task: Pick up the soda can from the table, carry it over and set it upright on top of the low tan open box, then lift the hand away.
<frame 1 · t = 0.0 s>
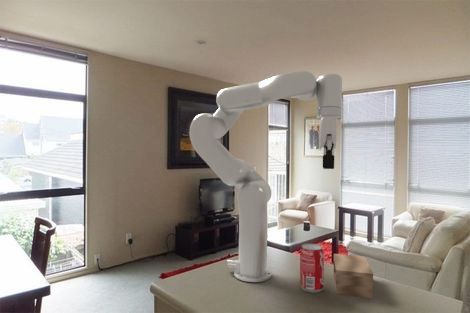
hand: (328, 168, 98), 37 cm above the table, tool pointing down, fingers open, 9 cm apart
soda can: (311, 289, 95), on the table
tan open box: (351, 285, 98), on the table
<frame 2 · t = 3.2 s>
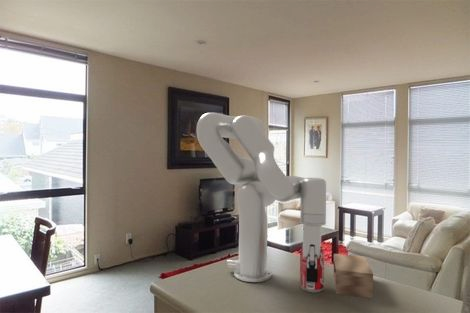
hand: (312, 276, 94), 4 cm above the table, tool pointing down, fingers closed on soda can, 6 cm apart
soda can: (311, 289, 95), on the table, touching gripper
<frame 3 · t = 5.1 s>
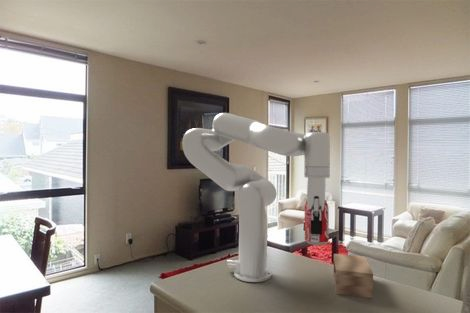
hand: (316, 230, 95), 18 cm above the table, tool pointing down, fingers closed on soda can, 6 cm apart
soda can: (316, 243, 95), point 14 cm above the table, touching gripper
when the fingers open (12 cm above the table, at t = 7.4 s): soda can drops 1 cm, resting on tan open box.
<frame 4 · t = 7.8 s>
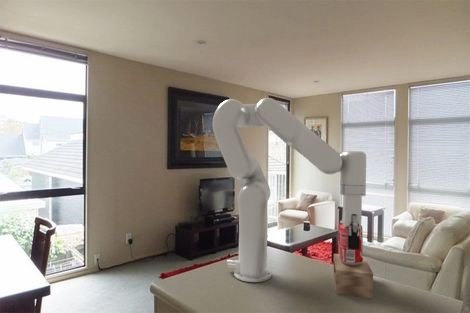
hand: (351, 244, 98), 13 cm above the table, tool pointing down, fingers open, 9 cm apart
soda can: (350, 263, 98), point 7 cm above the table, touching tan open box
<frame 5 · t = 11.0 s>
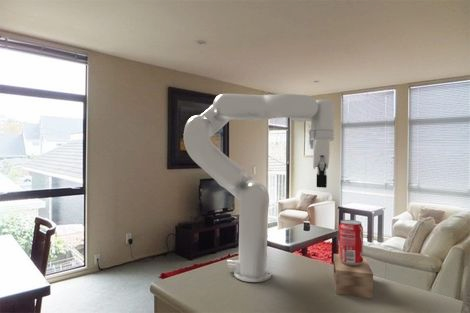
hand: (321, 186, 106), 30 cm above the table, tool pointing down, fingers open, 9 cm apart
nothing on the table moved.
at the end: soda can inside the target area on the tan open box (0.3 cm from its centre), point 6.8 cm above the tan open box's base; soda can tilted 0°; the gripper is holding nothing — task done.
